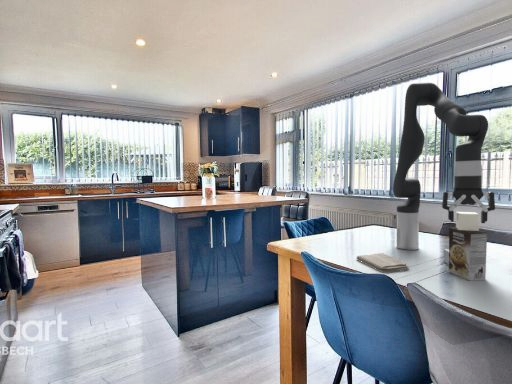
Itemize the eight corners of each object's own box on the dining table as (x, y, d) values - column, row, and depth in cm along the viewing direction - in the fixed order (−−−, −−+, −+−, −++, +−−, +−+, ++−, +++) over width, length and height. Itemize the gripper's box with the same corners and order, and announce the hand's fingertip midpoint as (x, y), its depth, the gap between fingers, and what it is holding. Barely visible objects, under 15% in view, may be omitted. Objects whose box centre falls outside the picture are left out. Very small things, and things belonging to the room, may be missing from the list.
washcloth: (383, 274, 102) (383, 266, 102) (355, 260, 120) (355, 253, 120) (411, 271, 105) (411, 263, 105) (379, 258, 122) (379, 251, 122)
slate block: (449, 265, 109) (449, 252, 109) (443, 261, 114) (444, 249, 114) (464, 265, 108) (464, 252, 108) (458, 261, 113) (458, 249, 113)
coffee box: (447, 271, 102) (448, 227, 101) (464, 270, 102) (464, 226, 102) (468, 280, 93) (469, 232, 92) (487, 279, 93) (487, 231, 93)
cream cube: (458, 229, 96) (458, 213, 96) (456, 227, 101) (456, 211, 101) (478, 230, 93) (479, 214, 93) (475, 228, 98) (475, 212, 98)
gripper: (443, 175, 96) (443, 222, 97) (497, 174, 89) (496, 225, 90) (441, 175, 103) (441, 219, 104) (491, 174, 96) (490, 221, 97)
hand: (467, 222), depth 97 cm, fingers open, 8 cm apart
